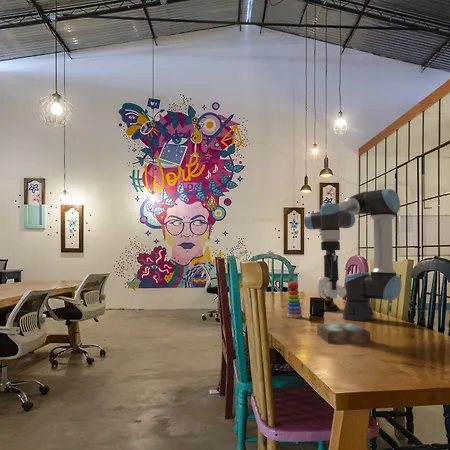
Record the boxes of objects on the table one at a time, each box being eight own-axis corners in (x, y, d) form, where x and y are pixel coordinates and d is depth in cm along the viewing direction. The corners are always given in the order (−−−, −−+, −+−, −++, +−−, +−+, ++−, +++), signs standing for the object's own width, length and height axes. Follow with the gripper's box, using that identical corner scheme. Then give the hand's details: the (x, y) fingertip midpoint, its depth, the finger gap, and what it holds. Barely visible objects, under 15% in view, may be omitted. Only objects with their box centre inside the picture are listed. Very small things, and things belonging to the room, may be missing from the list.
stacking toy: (301, 315, 220) (300, 280, 221) (303, 318, 212) (302, 281, 213) (286, 315, 221) (286, 280, 222) (287, 318, 213) (286, 281, 214)
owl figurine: (339, 312, 231) (338, 282, 232) (317, 312, 234) (316, 282, 235) (339, 308, 248) (338, 279, 249) (319, 307, 251) (318, 279, 252)
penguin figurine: (317, 275, 174) (346, 278, 171) (315, 296, 173) (344, 299, 171) (317, 276, 168) (348, 279, 165) (315, 297, 167) (346, 301, 165)
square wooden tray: (355, 333, 171) (355, 323, 171) (370, 342, 155) (369, 330, 155) (317, 334, 170) (317, 323, 171) (328, 343, 154) (327, 331, 155)
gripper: (316, 241, 180) (317, 294, 179) (326, 240, 161) (328, 299, 160) (333, 241, 180) (334, 294, 179) (346, 240, 161) (347, 299, 160)
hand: (331, 297), depth 169 cm, fingers closed on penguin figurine, 6 cm apart
